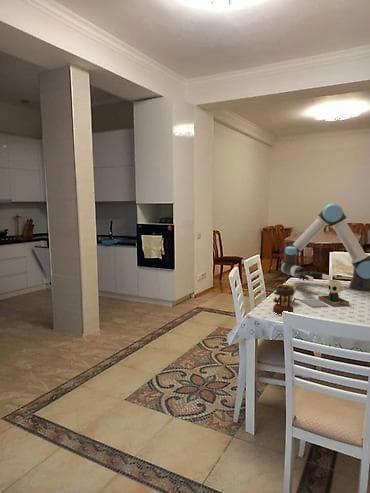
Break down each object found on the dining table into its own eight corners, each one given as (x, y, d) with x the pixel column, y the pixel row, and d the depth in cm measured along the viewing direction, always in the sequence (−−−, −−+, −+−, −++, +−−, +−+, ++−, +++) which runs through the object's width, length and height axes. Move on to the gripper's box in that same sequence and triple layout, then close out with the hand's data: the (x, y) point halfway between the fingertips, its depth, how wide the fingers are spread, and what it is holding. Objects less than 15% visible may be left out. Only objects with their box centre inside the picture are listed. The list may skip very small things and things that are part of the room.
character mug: (321, 301, 210) (322, 280, 208) (327, 299, 214) (328, 278, 213) (339, 305, 202) (341, 283, 200) (344, 303, 207) (346, 281, 205)
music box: (266, 313, 188) (269, 276, 186) (274, 309, 197) (276, 274, 196) (295, 318, 179) (298, 279, 178) (301, 314, 188) (304, 277, 187)
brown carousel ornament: (295, 305, 202) (296, 289, 200) (277, 304, 204) (278, 288, 202) (293, 300, 212) (294, 284, 210) (276, 299, 214) (277, 283, 212)
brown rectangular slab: (333, 298, 216) (333, 295, 216) (349, 305, 202) (349, 301, 202) (318, 299, 214) (318, 295, 214) (332, 306, 200) (332, 302, 200)
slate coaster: (314, 299, 213) (314, 298, 213) (328, 306, 200) (328, 305, 200) (299, 300, 211) (299, 299, 211) (312, 307, 198) (312, 306, 198)
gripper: (313, 276, 240) (336, 283, 221) (283, 278, 231) (304, 286, 212) (314, 265, 239) (337, 272, 220) (283, 267, 230) (305, 274, 211)
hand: (321, 279), depth 216 cm, fingers open, 13 cm apart
